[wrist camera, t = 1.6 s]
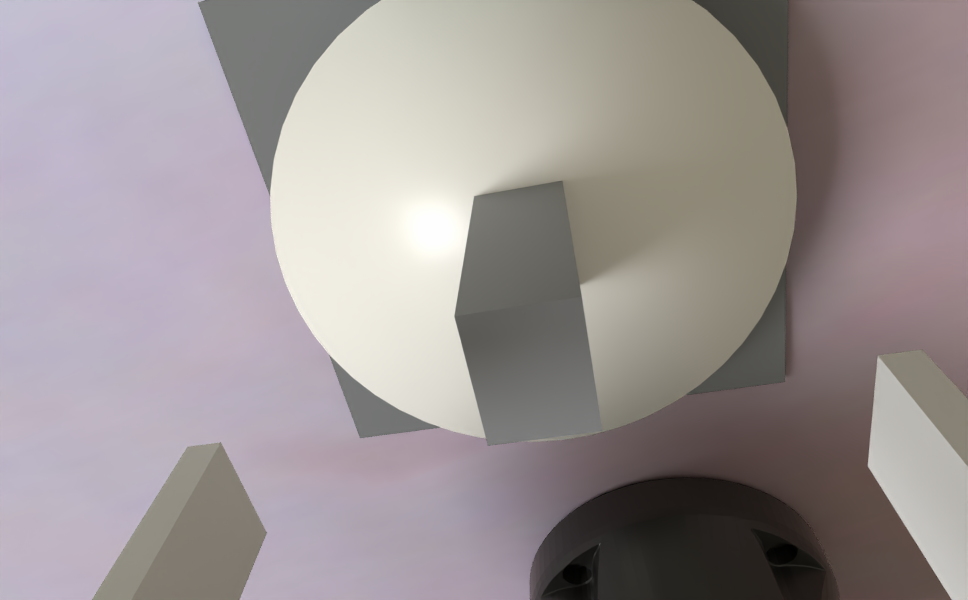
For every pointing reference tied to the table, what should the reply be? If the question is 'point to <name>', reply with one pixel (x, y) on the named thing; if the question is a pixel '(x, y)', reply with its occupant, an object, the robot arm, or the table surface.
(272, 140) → the mat
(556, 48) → the lid
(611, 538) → the robot arm
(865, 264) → the table surface
